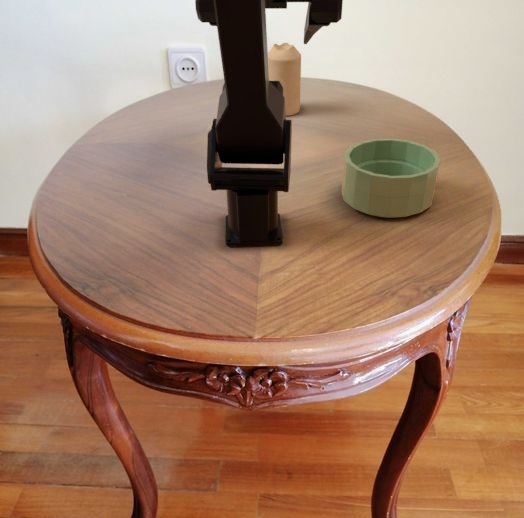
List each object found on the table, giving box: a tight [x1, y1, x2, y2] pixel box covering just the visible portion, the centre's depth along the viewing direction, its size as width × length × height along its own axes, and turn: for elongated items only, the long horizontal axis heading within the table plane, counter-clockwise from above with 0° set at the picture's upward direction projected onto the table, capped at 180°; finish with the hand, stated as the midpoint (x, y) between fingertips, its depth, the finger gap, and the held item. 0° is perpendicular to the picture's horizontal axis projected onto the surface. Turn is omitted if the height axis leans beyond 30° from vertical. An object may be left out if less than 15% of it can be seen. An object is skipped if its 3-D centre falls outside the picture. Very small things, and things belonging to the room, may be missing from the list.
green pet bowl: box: [341, 137, 441, 219], centre depth 73 cm, size 11×11×6 cm
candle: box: [268, 42, 302, 117], centre depth 95 cm, size 6×6×10 cm
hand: (273, 41), depth 84 cm, fingers open, 9 cm apart
